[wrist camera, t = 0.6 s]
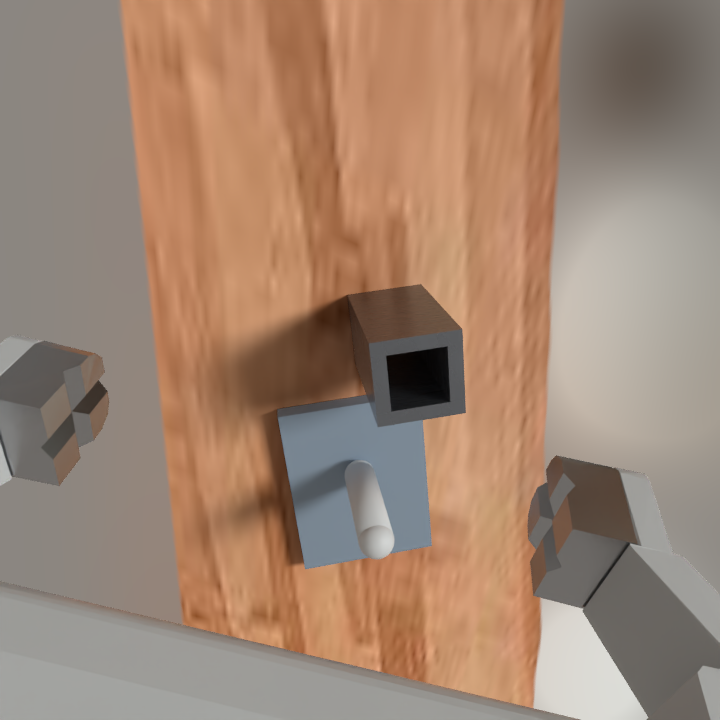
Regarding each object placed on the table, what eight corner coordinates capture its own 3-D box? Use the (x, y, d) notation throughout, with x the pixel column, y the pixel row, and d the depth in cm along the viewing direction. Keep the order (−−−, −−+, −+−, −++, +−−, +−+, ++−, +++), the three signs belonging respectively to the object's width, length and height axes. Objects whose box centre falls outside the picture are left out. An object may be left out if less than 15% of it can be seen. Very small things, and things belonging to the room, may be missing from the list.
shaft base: (277, 409, 50) (280, 496, 38) (416, 386, 51) (459, 465, 39) (304, 558, 56) (313, 671, 44) (427, 535, 57) (467, 640, 46)
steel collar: (347, 295, 47) (368, 343, 37) (421, 284, 47) (462, 329, 37) (355, 363, 49) (377, 427, 39) (425, 353, 50) (465, 412, 40)
